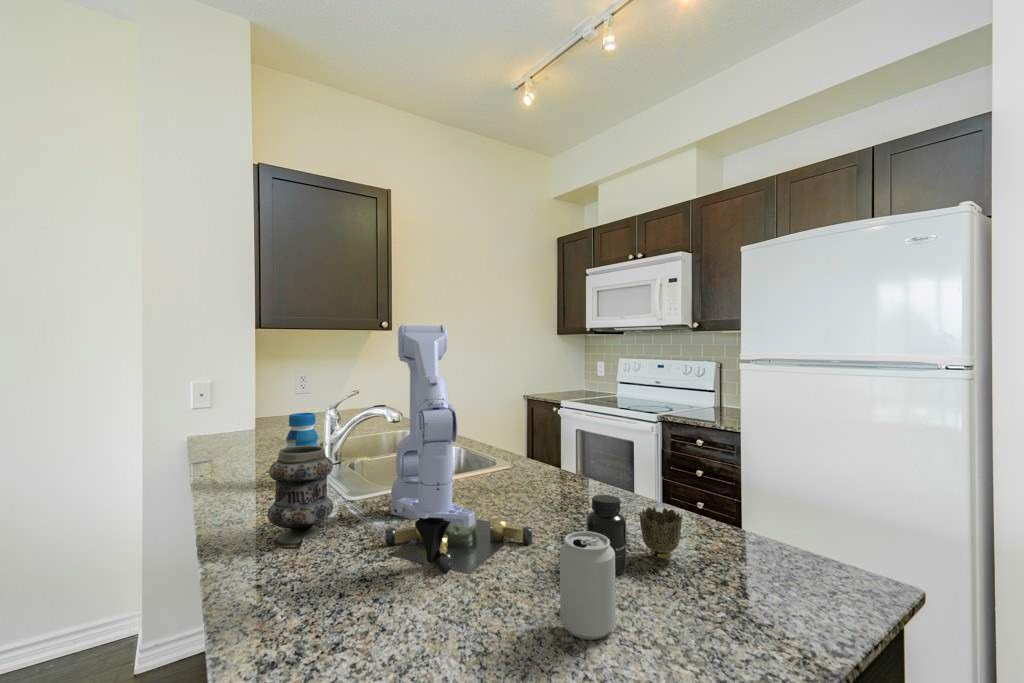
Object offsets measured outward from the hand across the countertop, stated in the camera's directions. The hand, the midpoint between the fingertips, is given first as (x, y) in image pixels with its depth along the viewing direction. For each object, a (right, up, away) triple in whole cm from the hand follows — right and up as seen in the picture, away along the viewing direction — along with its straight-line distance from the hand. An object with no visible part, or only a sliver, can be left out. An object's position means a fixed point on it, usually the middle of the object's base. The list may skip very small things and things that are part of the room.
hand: (434, 560), depth 80 cm
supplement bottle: (+29, -2, +2) cm, 30 cm away
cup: (+40, -2, +6) cm, 41 cm away
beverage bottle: (-45, -3, +52) cm, 69 cm away
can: (+24, -2, -15) cm, 28 cm away
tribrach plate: (+3, -2, +11) cm, 12 cm away
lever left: (-6, -1, +10) cm, 12 cm away
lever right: (+13, -1, +11) cm, 17 cm away
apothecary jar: (-29, -3, +15) cm, 33 cm away
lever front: (+1, -1, +2) cm, 2 cm away
